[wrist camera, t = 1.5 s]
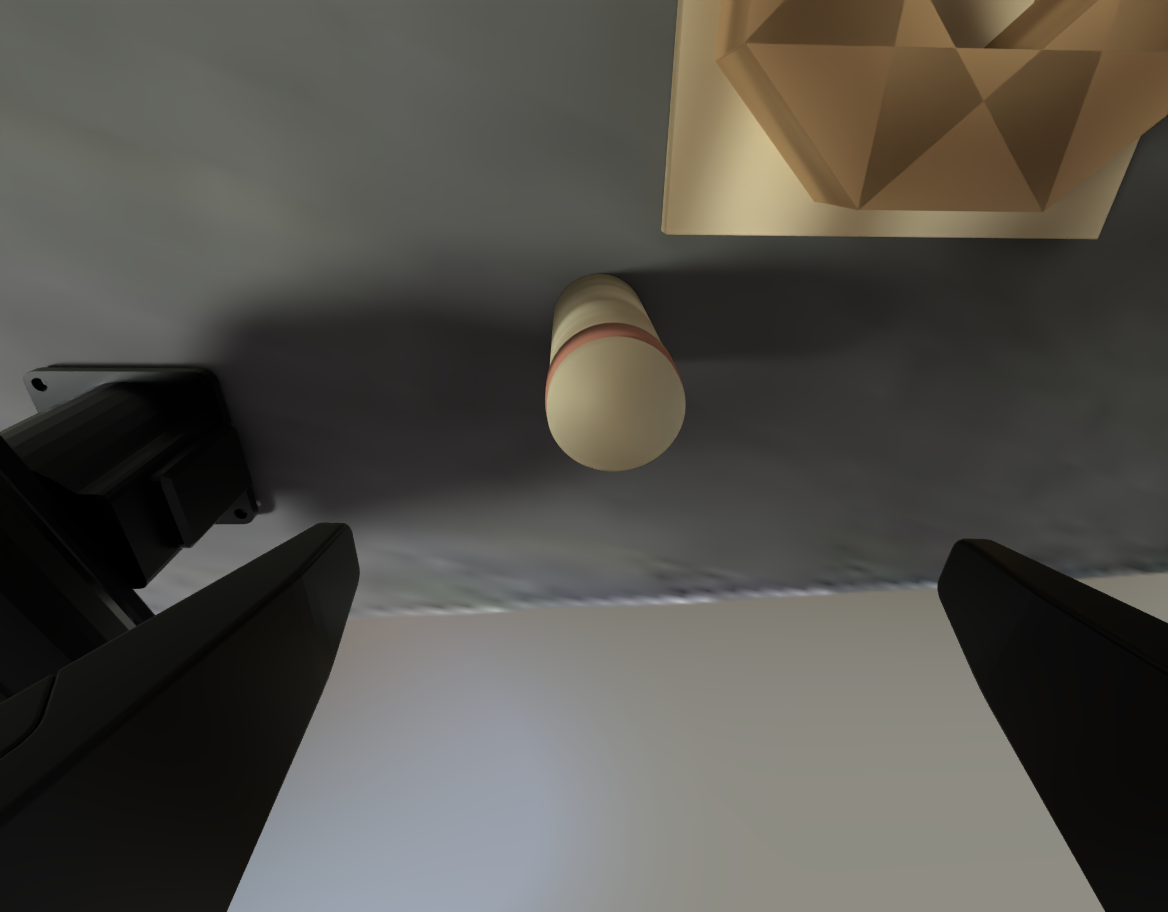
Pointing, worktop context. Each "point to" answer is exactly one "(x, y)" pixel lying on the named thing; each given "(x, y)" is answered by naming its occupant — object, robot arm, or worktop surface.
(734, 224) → the board
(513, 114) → the worktop surface
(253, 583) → the robot arm
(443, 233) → the worktop surface
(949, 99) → the bead
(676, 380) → the cream banded cylinder
